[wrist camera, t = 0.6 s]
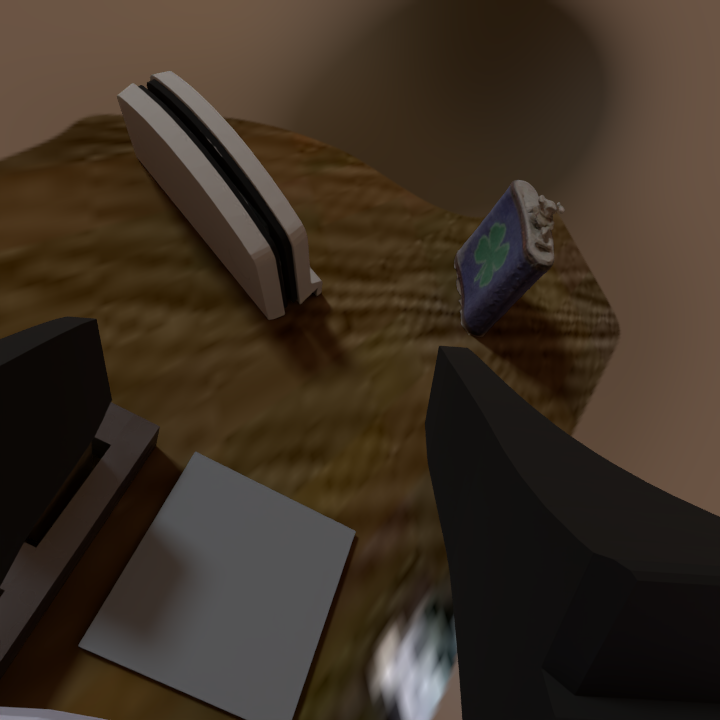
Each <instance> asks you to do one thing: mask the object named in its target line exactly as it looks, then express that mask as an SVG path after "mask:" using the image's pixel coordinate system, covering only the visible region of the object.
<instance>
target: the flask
mask: <svg viewBox="0 0 720 720" xmlns="http://www.w3.org/2000/svg"><path fill="white" fill-rule="evenodd" d="M557 206H559V211H560V213H563V212H564V208H563V207H562V206H561V205H560V202H559V203H557ZM556 211H557V207H556V205H555V203H554V202H553V201H550V200H547V199H545V197H544V196H543V195H541V196H540V197H539V196H538V194H537V192H536V191H535V189H534V188H533V187H532V186H531V185H530V184H529V183H527V182H525V181H521V180H516V181H513V182H512V184H511V185H510V186H509V188H508V189H507V191H506V192H505V194H504V195H503V196H502V197H501V199H500V200H499V201H498V202H497V203H496V205H495V206H494V208H493V209H492V210H491V212H490V213H489V214H488V216H487V217H486V218H485V219H484V220H483V221H482V223H481V224H480V226H479V227H478V228H477V229H476V230H475V232H474V233H473V234H472V235H471V236H470V238H469V239H468V240H467V241H466V242H465V243H464V245H463V246H462V248H461V249H460V250H459V251H458V252H457V254H456V256H455V261H454V262H455V263H454V268H455V269H456V270H457V280H456V281H457V284H456V285H457V290H458V292H459V293H460V295H461V300H459V301H460V303H461V305H462V309H461V311H460V312H461V324H462V326H463V327H464V329H465V330H466V331H467V332H468V335H473V336H476V337H483V336H484V335H485V333H486V332H487V331H488V330H489V329H490V328H491V327H492V326H493V325H494V324H495V323H496V322H497V321H498V320H499V319H500V318H501V317H502V316H503V315H504V314H505V313H506V312H507V311H508V310H509V308H510V307H511V306H512V305H513V304H514V303H515V302H516V301H517V300H518V299H519V298H521V297H522V295H523V294H524V293H525V292H526V291H527V290H528V289H530V287H531V286H532V285H533V284H534V283H535V282H536V281H537V280H538V279H539V278H540V277H541V276H542V275H543V274H545V273H546V272H547V271H548V270H549V269H550V268H551V266H552V265H553V263H554V252H553V250H554V245H553V238H552V232H551V230H552V229H553V225H554V221H553V214H555V213H556Z"/></svg>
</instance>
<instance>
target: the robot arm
mask: <svg viewBox="0 0 720 720" xmlns="http://www.w3.org/2000/svg"><path fill="white" fill-rule="evenodd" d="M111 401H112V398H111V393H110V387H109V382H108V377H107V372H106V366H105V361H104V356H103V351H102V345H101V340H100V335H99V330H98V324H97V319H91V318H78V317H63V318H59V319H55V320H52V321H49V322H46V323H43V324H40V325H37V326H34V327H31V328H29V329H26V330H23V331H21V332H18V333H15V334H13V335H10V336H7V337H5V338H2V339H0V586H1V584H2V582H3V580H4V579H5V577H6V575H7V573H8V571H9V569H10V567H11V566H12V564H13V562H14V560H15V558H16V556H17V554H18V552H19V551H20V549H21V547H22V545H23V543H24V542H25V540H26V539H27V537H28V535H29V534H30V532H31V531H32V529H33V527H34V526H35V524H36V523H37V521H38V520H39V518H40V517H41V515H42V514H43V512H44V511H45V510H46V508H47V507H48V505H49V504H50V502H51V501H52V499H53V498H54V496H55V495H56V494H57V492H58V491H59V489H60V488H61V486H62V485H63V483H64V482H65V480H66V479H67V478H68V476H69V475H70V473H71V472H72V470H73V469H74V467H75V466H76V464H77V463H78V461H79V460H80V458H81V457H82V455H83V454H84V452H85V451H86V449H87V448H88V446H89V445H90V443H91V442H92V440H93V439H94V437H95V435H96V433H97V431H98V429H99V427H100V425H101V423H102V421H103V419H104V416H105V414H106V412H107V410H108V407H109V405H110V403H111ZM425 430H426V446H427V458H428V466H429V471H430V476H431V480H432V485H433V490H434V495H435V500H436V504H437V509H438V514H439V519H440V523H441V528H442V533H443V537H444V542H445V547H446V552H447V558H448V564H449V570H450V579H451V589H452V598H453V608H454V618H455V630H456V641H457V653H458V664H459V677H460V691H461V705H462V719H463V720H720V517H719V516H717V515H714V514H712V513H710V512H708V511H706V510H703V509H701V508H699V507H697V506H695V505H693V504H690V503H688V502H686V501H684V500H681V499H679V498H677V497H675V496H673V495H671V494H669V493H667V492H665V491H663V490H661V489H659V488H657V487H655V486H653V485H651V484H649V483H647V482H645V481H644V480H642V479H640V478H638V477H636V476H634V475H633V474H631V473H629V472H627V471H626V470H624V469H622V468H620V467H618V466H617V465H615V464H613V463H611V462H610V461H608V460H606V459H605V458H603V457H602V456H600V455H598V454H597V453H595V452H594V451H592V450H591V449H589V448H588V447H586V446H585V445H583V444H582V443H580V442H579V441H577V440H576V439H574V438H573V437H571V436H570V435H568V434H567V433H565V432H564V431H563V430H561V429H560V428H559V427H557V426H556V425H555V424H553V423H552V422H551V421H550V420H548V419H547V418H546V417H544V416H543V415H542V414H541V413H539V412H538V411H537V410H536V409H534V408H533V407H532V406H531V405H530V404H529V403H527V402H526V401H525V400H524V399H523V398H522V397H520V396H519V395H518V394H517V393H516V392H515V391H514V390H513V389H511V388H510V387H509V386H508V385H507V384H506V383H505V382H504V381H503V380H502V379H501V378H500V377H499V376H497V375H496V374H495V373H494V372H493V371H492V370H491V369H490V368H489V367H488V366H487V365H486V364H485V363H484V362H483V361H482V360H481V359H480V358H479V357H478V356H476V355H475V354H474V353H473V352H472V351H471V350H470V349H468V348H461V347H449V346H439V350H438V355H437V360H436V366H435V371H434V377H433V382H432V388H431V393H430V399H429V404H428V410H427V415H426V420H425ZM0 720H106V719H100V718H95V717H89V716H84V715H78V714H73V713H67V712H62V711H56V710H50V709H33V708H14V707H0Z"/></svg>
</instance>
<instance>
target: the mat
mask: <svg viewBox="0 0 720 720" xmlns="http://www.w3.org/2000/svg"><path fill="white" fill-rule="evenodd" d="M355 532H356V531H354V530H352V529H350V528H348V527H346V526H344V525H342V524H340V523H338V522H336V521H334V520H332V519H330V518H328V517H326V516H324V515H322V514H320V513H318V512H316V511H314V510H312V509H310V508H308V507H306V506H304V505H302V504H300V503H298V502H296V501H294V500H292V499H290V498H288V497H286V496H284V495H282V494H280V493H278V492H276V491H274V490H272V489H270V488H268V487H266V486H264V485H261V484H259V483H257V482H255V481H253V480H251V479H249V478H247V477H245V476H243V475H241V474H239V473H237V472H235V471H233V470H231V469H229V468H227V467H225V466H223V465H221V464H219V463H217V462H215V461H213V460H211V459H209V458H207V457H205V456H203V455H201V454H199V453H197V452H195V453H194V455H193V456H192V458H191V460H190V461H189V463H188V465H187V466H186V468H185V470H184V471H183V473H182V475H181V476H180V478H179V480H178V481H177V483H176V484H175V486H174V488H173V489H172V491H171V493H170V494H169V496H168V498H167V499H166V501H165V503H164V504H163V506H162V508H161V509H160V511H159V513H158V514H157V516H156V518H155V519H154V521H153V523H152V524H151V526H150V528H149V529H148V531H147V532H146V534H145V536H144V537H143V539H142V541H141V542H140V544H139V546H138V547H137V549H136V551H135V552H134V554H133V556H132V557H131V559H130V561H129V562H128V564H127V566H126V567H125V569H124V571H123V572H122V574H121V576H120V577H119V579H118V580H117V582H116V584H115V585H114V587H113V589H112V590H111V592H110V594H109V595H108V597H107V599H106V600H105V602H104V604H103V605H102V607H101V609H100V610H99V612H98V614H97V615H96V617H95V619H94V620H93V622H92V624H91V625H90V627H89V628H88V630H87V632H86V633H85V635H84V637H83V638H82V640H81V642H80V643H79V645H78V647H80V648H82V649H85V650H87V651H89V652H92V653H94V654H96V655H99V656H101V657H103V658H105V659H108V660H110V661H112V662H115V663H117V664H119V665H121V666H124V667H126V668H128V669H131V670H133V671H135V672H137V673H140V674H142V675H144V676H147V677H149V678H151V679H154V680H156V681H158V682H160V683H163V684H165V685H167V686H170V687H172V688H174V689H176V690H179V691H181V692H183V693H186V694H188V695H190V696H192V697H195V698H197V699H199V700H202V701H204V702H206V703H209V704H211V705H213V706H215V707H218V708H220V709H222V710H225V711H227V712H229V713H231V714H234V715H236V716H238V717H241V718H243V719H245V720H292V718H293V715H294V712H295V709H296V706H297V703H298V700H299V697H300V694H301V691H302V688H303V685H304V682H305V679H306V677H307V674H308V671H309V668H310V665H311V662H312V659H313V656H314V653H315V650H316V647H317V644H318V641H319V638H320V635H321V632H322V629H323V626H324V623H325V620H326V617H327V615H328V612H329V609H330V606H331V603H332V600H333V597H334V594H335V591H336V588H337V585H338V582H339V579H340V576H341V573H342V570H343V567H344V564H345V561H346V558H347V556H348V553H349V550H350V547H351V544H352V541H353V538H354V535H355Z"/></svg>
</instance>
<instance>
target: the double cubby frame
mask: <svg viewBox="0 0 720 720" xmlns="http://www.w3.org/2000/svg"><path fill="white" fill-rule="evenodd" d="M159 428H160V426H158V425H156V424H154V423H151V422H149V421H147V420H145V419H143V418H141V417H139V416H137V415H135V414H133V413H131V412H129V411H127V410H125V409H123V408H121V407H119V406H117V405H115V404H113V403H110V405H109V407H108V410H107V412H106V414H105V416H104V419H103V421H102V423H101V425H100V427H99V429H98V431H97V433H96V435H95V437H94V439H93V440H92V442H91V444H92V455H95V456H97V457H99V458H101V460H100V461H99V463H98V464H97V465H96V467H95V468H94V469H93V471H92V472H91V474H90V475H89V476H88V478H87V479H86V480H85V482H84V483H83V485H82V486H81V487H80V489H79V490H78V491H77V493H76V494H75V495H74V497H73V498H72V500H71V501H70V502H69V504H68V505H67V506H66V508H65V509H64V511H63V512H62V513H61V515H60V516H59V517H58V519H57V520H56V521H55V523H54V524H53V526H52V527H51V528H50V530H49V531H48V532H47V534H46V535H45V537H44V538H43V539H42V541H41V542H40V543H39V545H38V546H37V548H36V547H34V546H32V545H30V544H27V543H25V542H24V543H23V545H22V547H21V549H20V551H19V552H18V554H17V556H16V558H15V560H14V562H13V564H12V566H11V567H10V569H9V571H8V573H7V575H6V577H5V579H4V580H3V582H2V584H1V586H0V594H1V597H0V679H1V678H2V676H3V675H4V673H5V672H6V670H7V669H8V667H9V666H10V664H11V663H12V661H13V660H14V658H15V657H16V655H17V653H18V652H19V650H20V649H21V647H22V646H23V644H24V643H25V641H26V640H27V638H28V637H29V635H30V634H31V632H32V631H33V629H34V628H35V626H36V625H37V623H38V622H39V620H40V619H41V617H42V616H43V614H44V613H45V611H46V610H47V608H48V607H49V605H50V604H51V602H52V601H53V599H54V598H55V596H56V595H57V593H58V592H59V590H60V589H61V587H62V586H63V584H64V583H65V581H66V580H67V578H68V577H69V575H70V574H71V572H72V571H73V569H74V568H75V566H76V565H77V563H78V562H79V560H80V559H81V557H82V556H83V554H84V553H85V551H86V550H87V548H88V547H89V545H90V544H91V542H92V541H93V539H94V538H95V536H96V535H97V533H98V532H99V530H100V529H101V527H102V526H103V524H104V523H105V521H106V520H107V518H108V517H109V515H110V514H111V512H112V511H113V509H114V508H115V506H116V505H117V503H118V502H119V500H120V499H121V497H122V496H123V494H124V493H125V491H126V490H127V488H128V487H129V485H130V484H131V482H132V481H133V479H134V478H135V476H136V475H137V473H138V472H139V470H140V469H141V467H142V466H143V464H144V463H145V461H146V460H147V458H148V457H149V455H150V454H151V452H152V451H153V449H154V448H155V446H156V443H157V438H158V433H159Z"/></svg>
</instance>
